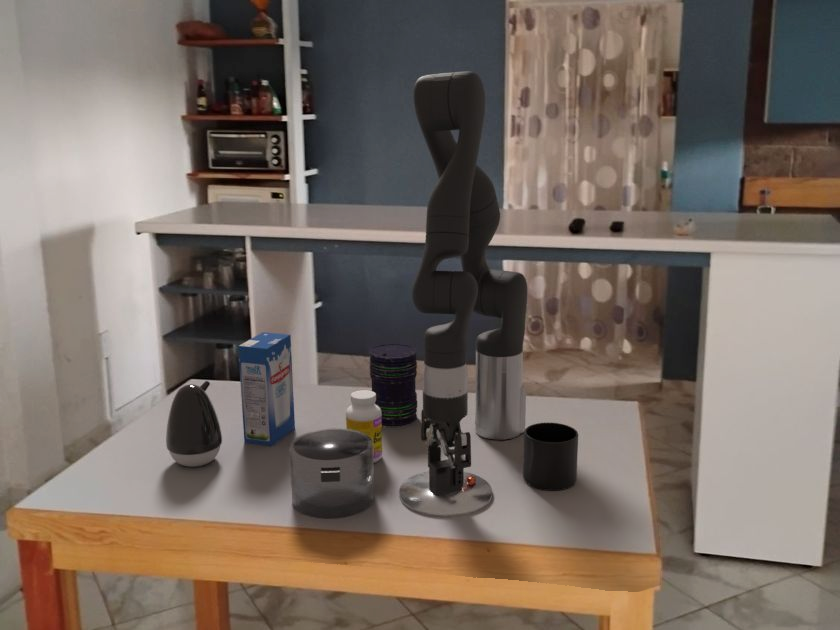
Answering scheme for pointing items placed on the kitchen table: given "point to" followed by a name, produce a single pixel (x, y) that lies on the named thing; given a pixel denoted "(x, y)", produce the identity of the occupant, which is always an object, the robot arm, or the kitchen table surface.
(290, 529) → the kitchen table surface
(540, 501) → the kitchen table surface
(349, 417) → the supplement bottle
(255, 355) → the milk carton
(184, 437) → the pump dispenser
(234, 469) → the kitchen table surface
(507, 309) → the robot arm
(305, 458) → the pot
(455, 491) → the lid
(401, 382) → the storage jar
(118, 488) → the kitchen table surface
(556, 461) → the mug
